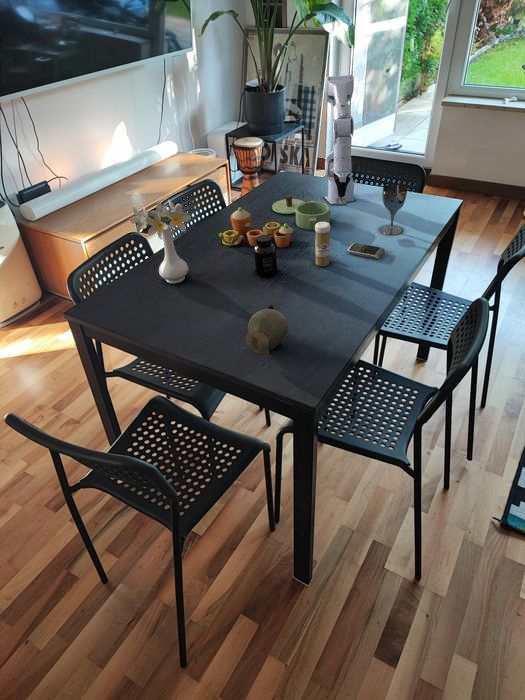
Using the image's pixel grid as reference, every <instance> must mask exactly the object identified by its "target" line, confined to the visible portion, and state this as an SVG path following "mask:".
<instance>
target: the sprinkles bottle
mask: <svg viewBox="0 0 525 700" xmlns="http://www.w3.org/2000/svg"><path fill="white" fill-rule="evenodd" d="M314 232H315V261H314V262H315V265H316V266H319V267H326V266H328V265H330V251H331V250H330V245H331V244H330V241H331V239H330V232H331V224H329V223H327V222H319V223H317V224H316V225H315V230H314Z"/></svg>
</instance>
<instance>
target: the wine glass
mask: <svg viewBox="0 0 525 700" xmlns="http://www.w3.org/2000/svg"><path fill="white" fill-rule="evenodd" d="M407 196H408V187H407V186H406V185H403V184H397V183H393V184H386V185H384V186H383V187H382V204H383V206H384V208H385V209H386V210H387V212H388V213H389V214H390V225H386V226H383V227H382V228H381V229H380V232H381V233H382V234H385V235H388V236H394V235H399V234H401V233H402V232H403V229H402V228H401V227H399V226H397V225H394V220H395V216H396V214H397V213H398V212H399V211H400V210H401V209H402V208H403V207H404V205H405V202H406V199H407Z"/></svg>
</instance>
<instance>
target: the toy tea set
mask: <svg viewBox="0 0 525 700" xmlns="http://www.w3.org/2000/svg"><path fill="white" fill-rule="evenodd" d="M230 221H231V225H232V228H233V229H229V230H226V231H224V232H220V233H219V234H218V236H219V237H220V238H223V239H222V241H221V242H222V244H223V245H225V246H236V245H237V246H238V245H239V244H240V243H242V240H243V239H245V238H244V237H245V236H247V241H248V244H249V246H251V247H255V246H256V238H257V237H258V236H260V235H270V236H271V237H272V238H274V242H275V245H276V246H275V247H278V248H287V247H289V245H290V242H291V235H292V234H293V232H294V228H293V227H291V226H289V224H288V223H284V224H283V225H281V224H280V222H276V221H270V222H268V223H265V225H264V226H262V230H260V229H251V227H252V214H251V213H250V212H249V211H247V210H245V209H243V208H242V207H241V206H240V207H238V208H237V210H234V212H233V213H231V215H230Z"/></svg>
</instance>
